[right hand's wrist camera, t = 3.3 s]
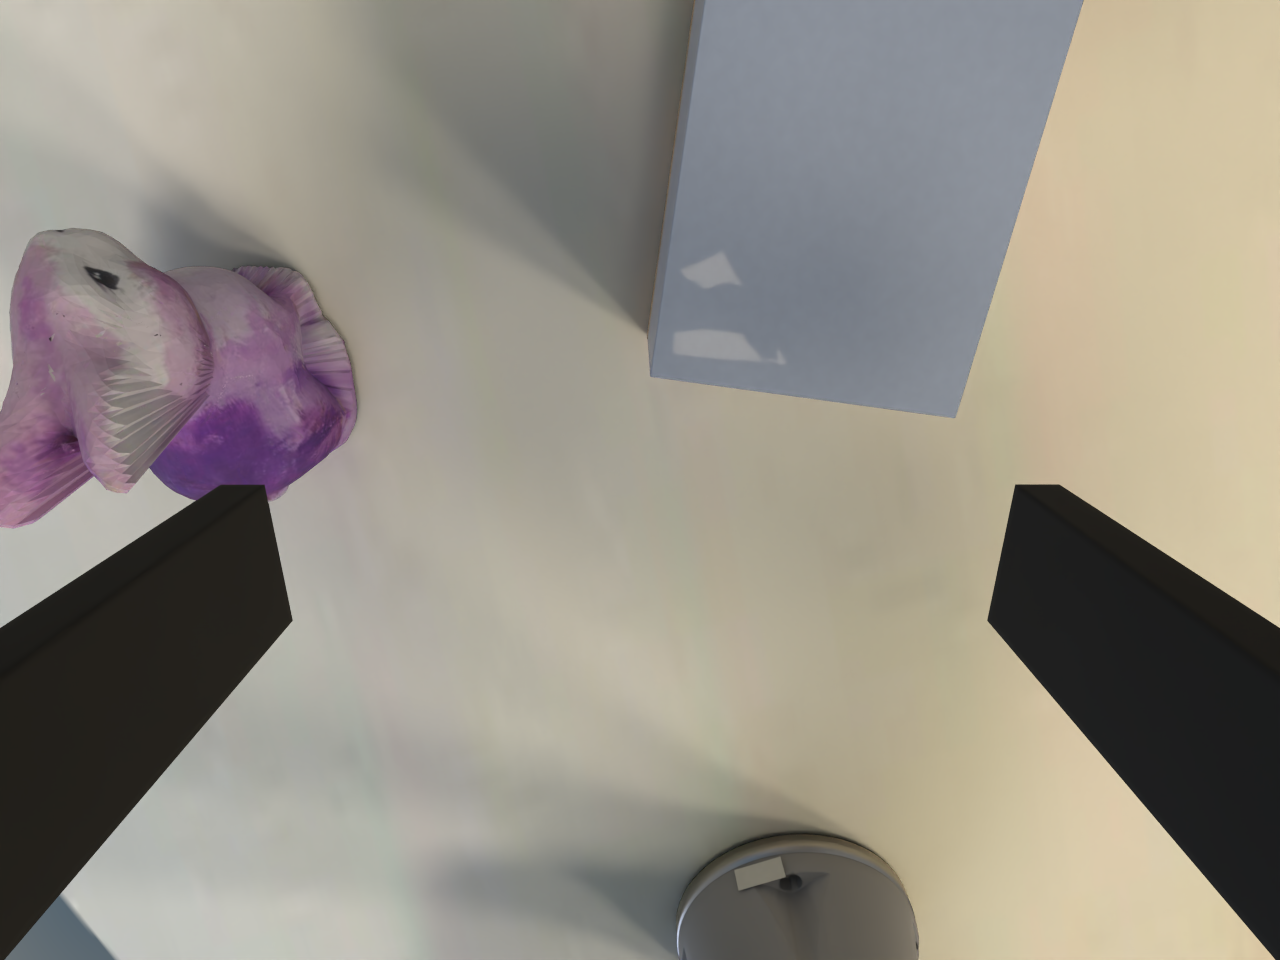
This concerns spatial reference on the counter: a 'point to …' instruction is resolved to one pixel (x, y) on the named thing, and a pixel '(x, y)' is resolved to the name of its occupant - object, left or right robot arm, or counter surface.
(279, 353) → the figurine
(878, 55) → the cabinet
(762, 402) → the counter surface
